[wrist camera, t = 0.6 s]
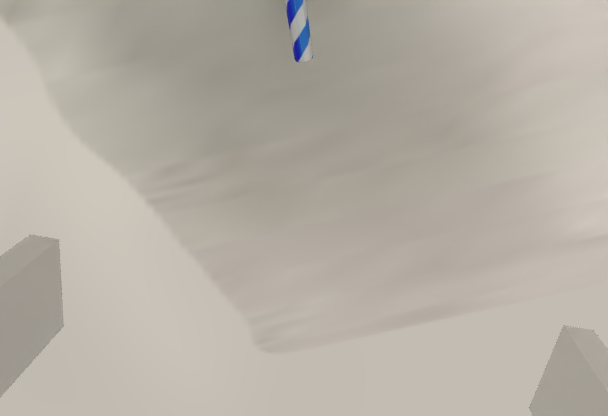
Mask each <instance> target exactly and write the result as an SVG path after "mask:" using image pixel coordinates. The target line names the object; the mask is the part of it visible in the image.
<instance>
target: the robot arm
mask: <svg viewBox="0 0 608 416" xmlns="http://www.w3.org/2000/svg"><path fill="white" fill-rule="evenodd" d="M63 326H64V324H63V307H62V287H61V269H60V249H59V239H53V238H48V237H42V236H36V235H29V236H28V237H26V238H25V239H23V240H22V241H21V242H19V243H18V244H16V245H15V246H14V247H13V248H11V249H10V250H8V251H7V252H5V253H4V254H3V255H1V256H0V397H1V396H2V395H3V394H4V393H5V392H6V391H7V389H8V388H9V387H10V386H11V385H12V384H13V383H14V382H15V380H16V379H17V378H18V377H19V376H20V375H21V374H22V373H23V371H24V370H25V369H26V368H27V367H28V366H29V365H30V364H31V362H32V361H33V360H34V359H35V358H36V356H38V355H39V353H40V352H41V351H42V350H43V349H44V348H45V347H46V346H47V344H48V343H49V342H50V341H51V340H52V339H53V338H54V337H55V335H56V334H57V333H58V332H59V331H60V330H61V329H62V328H63ZM529 408H530V411H531V413H532V415H533V416H608V349H607V348H606V346H605V345H604V344H603V342H602V341H601V339H600V338H599V337H598V335H597V334H596V333H595V332H594V330H588V329H583V328H576V327H571V326H565V325H564V326H563V328H562V330H561V333H560V335H559V337H558V340H557V342H556V345H555V347H554V349H553V352H552V354H551V357H550V359H549V361H548V364H547V366H546V368H545V371H544V374H543V376H542V378H541V380H540V383H539V385H538V388H537V390H536V392H535V395H534V397H533V400H532V402H531V404H530V407H529Z"/></svg>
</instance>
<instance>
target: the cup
mask: <svg viewBox="0 0 608 416" xmlns="http://www.w3.org/2000/svg"><path fill="white" fill-rule="evenodd" d="M285 5H286V11H287V17H288V23H289V28H290V34H291V40H292V46H293V52H294V57H295V60H296V61H297V62H305V61H309V60H311V59H312V58H313V53H312V45H311V37H310V30H309V22H308V14H307V6H306V0H285Z"/></svg>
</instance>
